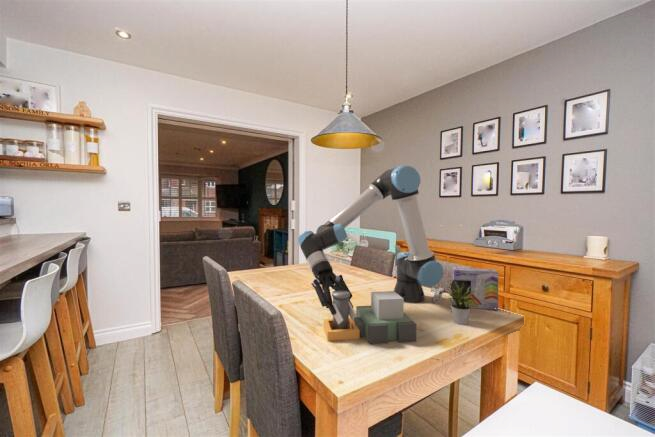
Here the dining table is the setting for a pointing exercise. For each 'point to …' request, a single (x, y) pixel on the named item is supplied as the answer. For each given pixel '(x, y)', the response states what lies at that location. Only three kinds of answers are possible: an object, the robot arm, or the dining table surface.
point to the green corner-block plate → (377, 321)
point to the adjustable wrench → (436, 294)
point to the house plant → (460, 305)
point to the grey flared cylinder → (341, 308)
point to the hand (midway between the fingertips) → (347, 320)
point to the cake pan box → (477, 286)
